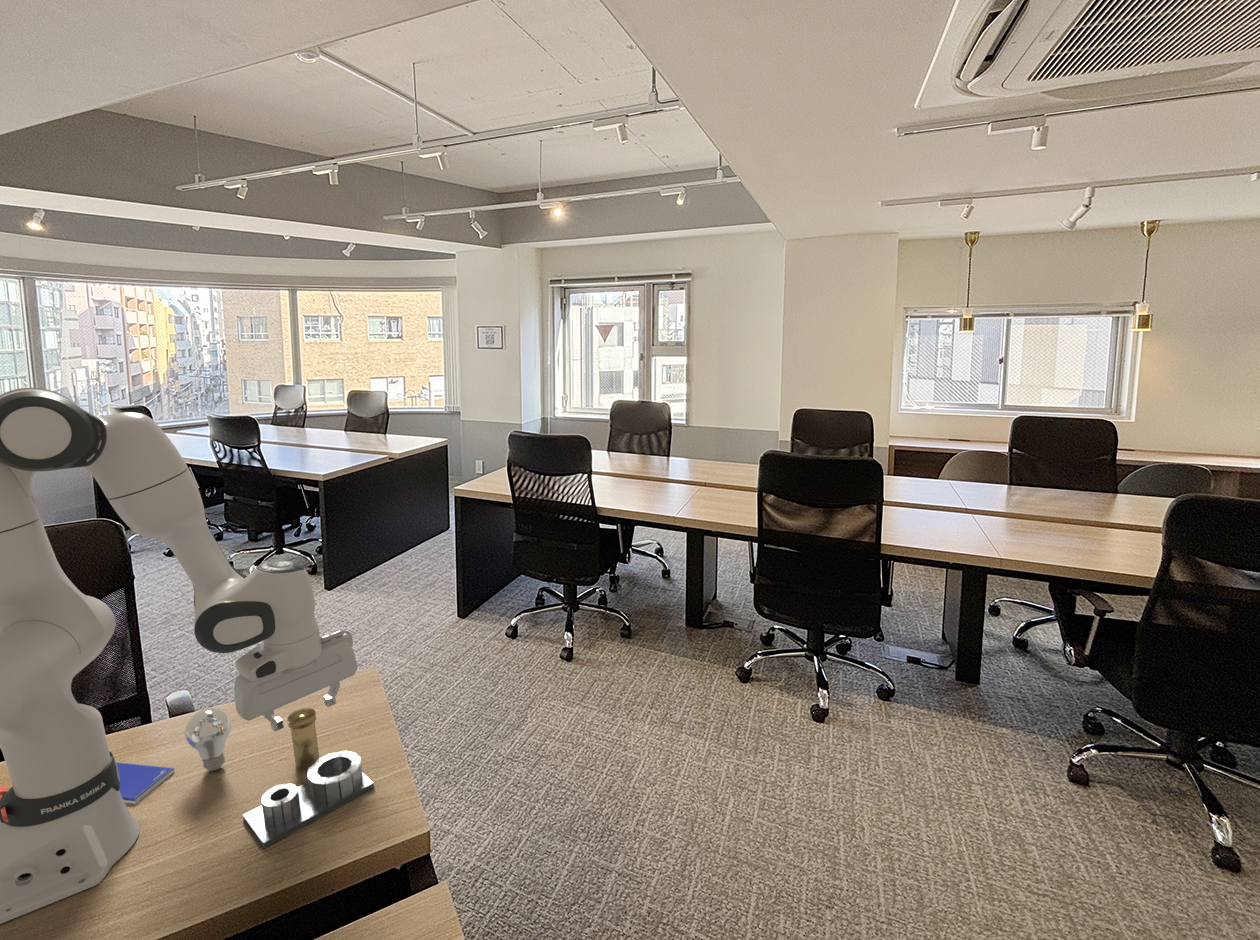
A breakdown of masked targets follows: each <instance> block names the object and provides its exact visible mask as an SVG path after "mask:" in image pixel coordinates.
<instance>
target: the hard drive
mask: <svg viewBox="0 0 1260 940" xmlns="http://www.w3.org/2000/svg"><path fill="white" fill-rule="evenodd" d="M116 763H117V767H118V772H119V777H120V782H119V783H120V789H119V790H120V793H121V796H122V798H123V800H124V803H125V804H130V805H131V804H133V805H136V804H138V803H139V802H140V801H141V800H142V799H143V798H145V797H146V796H147V795H149V794H150V793H151V792H152V791H153V790H155V789H156V788H157V787H158V786H159V785H161V784H162V783H163V782H164V781H166V779H168V778H169V777H170V776H171V775H173V774H174V773H175V768H174V767H166V766H156V765H147V764H145V765H144V764H139V763H138V764H136V763H128V762H117V761H116Z"/></svg>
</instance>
